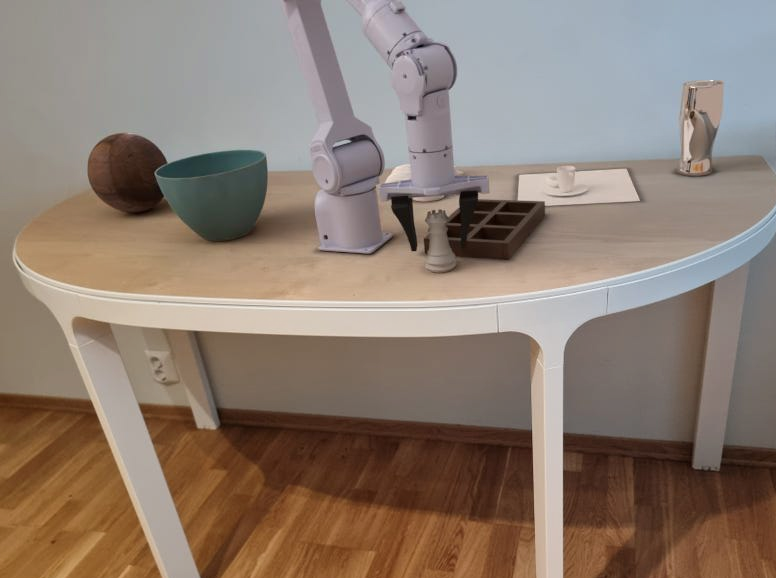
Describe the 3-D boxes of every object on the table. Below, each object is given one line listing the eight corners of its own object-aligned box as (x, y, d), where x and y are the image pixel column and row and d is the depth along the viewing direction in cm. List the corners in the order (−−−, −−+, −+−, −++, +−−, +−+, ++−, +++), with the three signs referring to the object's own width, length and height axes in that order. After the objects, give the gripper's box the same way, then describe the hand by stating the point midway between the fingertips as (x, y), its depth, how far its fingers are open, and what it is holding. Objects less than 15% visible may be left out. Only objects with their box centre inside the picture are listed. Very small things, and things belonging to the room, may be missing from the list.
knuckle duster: (396, 176, 143) (467, 173, 140) (378, 204, 128) (458, 200, 125) (394, 160, 141) (466, 156, 139) (376, 185, 126) (456, 181, 123)
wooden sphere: (190, 196, 146) (170, 122, 138) (159, 220, 133) (136, 139, 125) (123, 201, 148) (100, 128, 141) (87, 224, 135) (60, 146, 128)
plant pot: (152, 250, 118) (130, 177, 112) (214, 215, 132) (198, 149, 126) (243, 254, 111) (225, 178, 105) (298, 217, 126) (285, 148, 120)
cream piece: (542, 184, 128) (541, 162, 126) (586, 182, 126) (587, 159, 124) (542, 199, 120) (542, 175, 118) (590, 196, 119) (590, 173, 117)
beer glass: (676, 177, 123) (684, 88, 116) (671, 167, 129) (678, 81, 122) (718, 175, 122) (729, 85, 115) (711, 165, 128) (720, 78, 121)
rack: (424, 253, 104) (423, 238, 102) (469, 212, 118) (469, 198, 117) (508, 259, 98) (508, 243, 97) (545, 215, 113) (545, 201, 112)
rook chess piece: (438, 259, 101) (433, 205, 97) (463, 264, 98) (459, 209, 94) (418, 270, 98) (413, 215, 94) (444, 275, 95) (439, 219, 92)
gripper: (371, 159, 87) (384, 261, 94) (487, 150, 86) (492, 254, 92) (378, 146, 94) (389, 242, 100) (486, 137, 92) (491, 235, 99)
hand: (439, 247), depth 97 cm, fingers open, 6 cm apart
